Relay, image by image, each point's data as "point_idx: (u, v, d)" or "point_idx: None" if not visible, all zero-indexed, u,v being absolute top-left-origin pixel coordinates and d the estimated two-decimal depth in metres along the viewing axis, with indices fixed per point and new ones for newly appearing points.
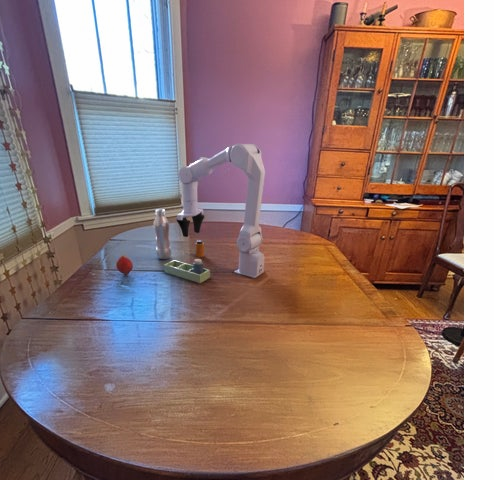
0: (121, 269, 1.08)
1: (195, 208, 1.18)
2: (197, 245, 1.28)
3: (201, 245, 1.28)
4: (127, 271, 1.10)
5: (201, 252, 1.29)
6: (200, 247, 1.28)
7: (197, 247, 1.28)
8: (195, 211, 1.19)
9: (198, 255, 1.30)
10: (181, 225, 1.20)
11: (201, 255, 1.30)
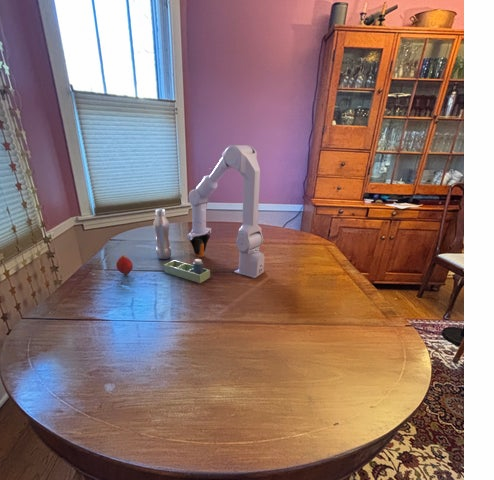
0: (121, 269, 1.08)
1: (204, 228, 1.24)
2: None
3: (201, 245, 1.28)
4: (127, 271, 1.10)
5: (201, 252, 1.29)
6: (200, 247, 1.28)
7: None
8: (204, 231, 1.24)
9: (198, 255, 1.30)
10: (193, 243, 1.27)
11: (201, 255, 1.30)
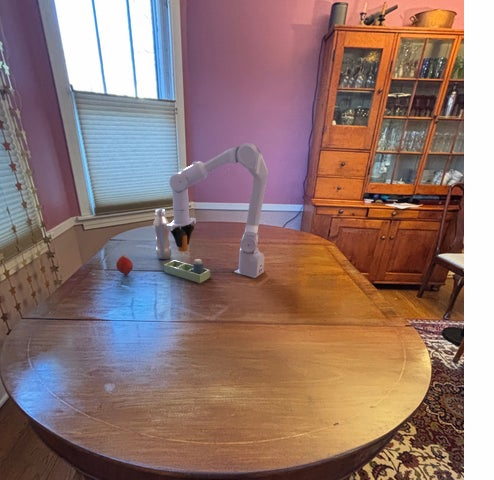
0: (121, 269, 1.08)
1: (186, 218, 1.09)
2: None
3: (184, 237, 1.13)
4: (127, 271, 1.10)
5: (184, 245, 1.15)
6: (182, 239, 1.13)
7: None
8: (186, 221, 1.10)
9: (181, 248, 1.15)
10: (174, 235, 1.12)
11: (184, 248, 1.15)
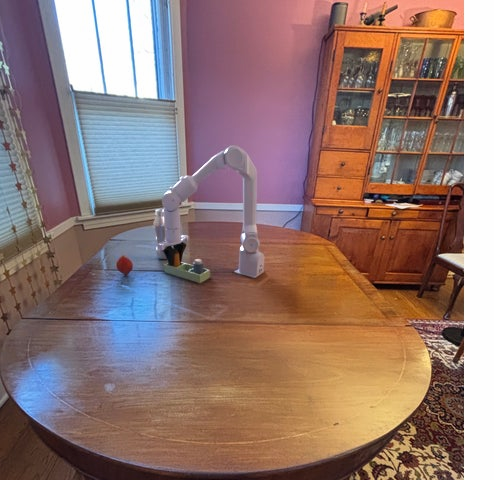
0: (121, 269, 1.08)
1: (178, 236, 1.07)
2: None
3: (176, 255, 1.11)
4: (127, 271, 1.10)
5: (176, 263, 1.12)
6: (174, 258, 1.11)
7: None
8: (178, 239, 1.07)
9: None
10: (166, 253, 1.10)
11: None
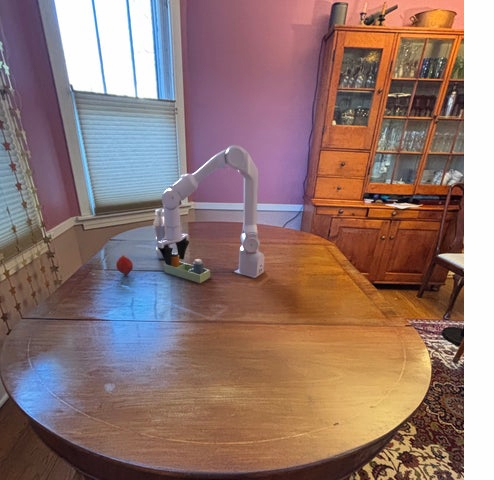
0: (121, 269, 1.08)
1: (178, 234, 1.06)
2: (171, 258, 1.11)
3: (176, 258, 1.11)
4: (127, 271, 1.10)
5: (176, 266, 1.13)
6: (175, 260, 1.12)
7: (171, 260, 1.12)
8: (178, 237, 1.07)
9: None
10: (163, 252, 1.08)
11: None
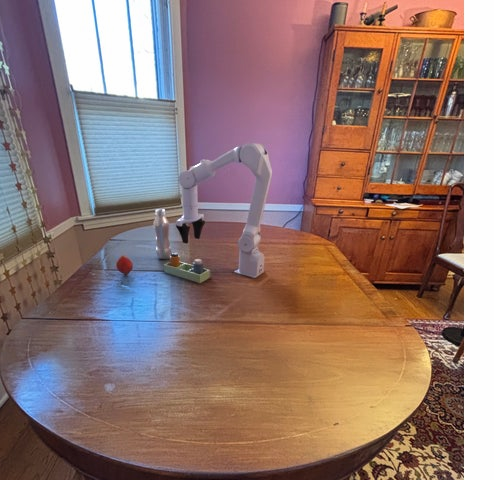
0: (121, 269, 1.08)
1: (195, 213, 1.13)
2: (171, 258, 1.11)
3: (176, 258, 1.11)
4: (127, 271, 1.10)
5: (176, 266, 1.13)
6: (175, 260, 1.12)
7: (171, 260, 1.12)
8: (195, 217, 1.13)
9: None
10: (181, 231, 1.15)
11: None
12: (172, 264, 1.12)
